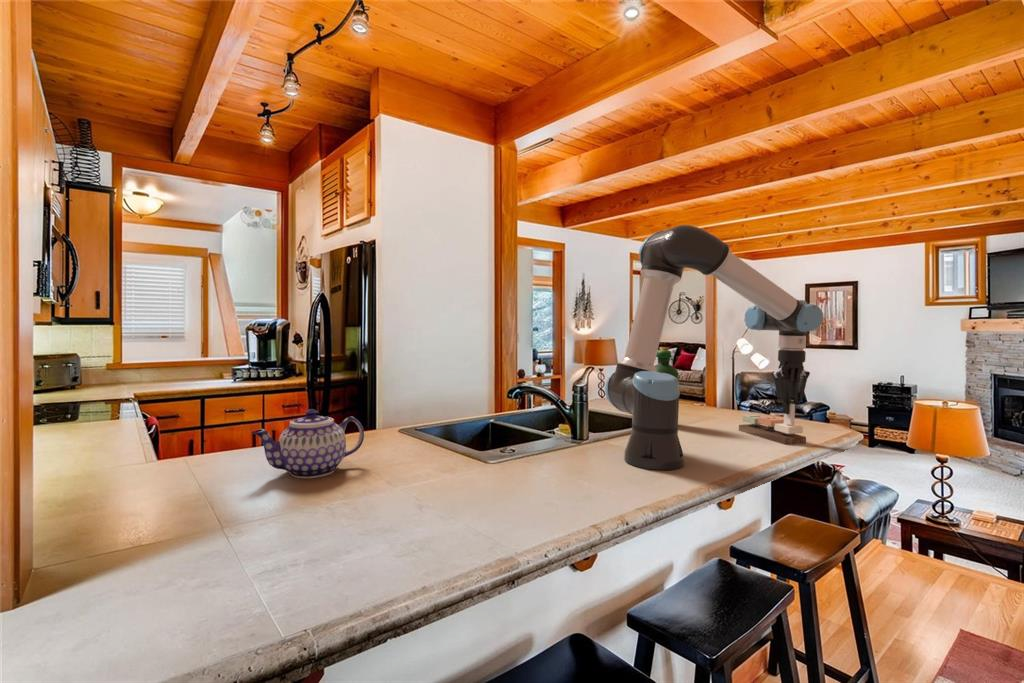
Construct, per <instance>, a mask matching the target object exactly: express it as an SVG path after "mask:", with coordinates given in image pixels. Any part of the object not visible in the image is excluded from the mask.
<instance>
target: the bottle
mask: <svg viewBox="0 0 1024 683" xmlns="http://www.w3.org/2000/svg"><path fill="white" fill-rule="evenodd" d="M656 358H657V364H654V367H655V369H656V370H657V372H660V373H666V374H670V375H672V376H674V377H676V378H677V380H678V381H679V374H680V373H679V371H678V370H677V368H676V367H674V366H673V365H671V364H670V361H671V358H672V351H670V350H669V346H668V347H667V346H660V347H659V350H657V354H656Z"/></svg>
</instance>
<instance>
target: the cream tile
mask: <svg viewBox="0 0 1024 683" xmlns="http://www.w3.org/2000/svg"><path fill="white" fill-rule="evenodd" d="M774 428H775V429H774V430H776V431H780V432H783V433H785V436H788V437H791V435H792V434H803V431H804V429H803V428H804V426H802V425H797V424H794V425H788V424H784V423H780V424H775V426H774Z"/></svg>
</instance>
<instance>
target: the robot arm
mask: <svg viewBox="0 0 1024 683" xmlns="http://www.w3.org/2000/svg"><path fill="white" fill-rule="evenodd" d="M638 260H639V262H640V265H641V268H640V274H641V276H642V278H643V282H642V287H641V290H640V293H639V299H638V302H637V305H636V309H635V314H634V317H633V322H632V326H631V329H630V334H629V337H628V342H627V345H626V346H627V347H626V350H625V353H624V357H623V358H622V359H620V360H619V361H617V362H616V363H617V364H616V367H615V371H614V372H613V373H611V374H610V375H609V376H608V378H607V379H606V382H605V386H604V391H605V392H604V394H605V397H606V399H607V400H608V402H609V404H610V405H611V406H613V407H614V408H615V409H617V410H618V411H620V412H623V413H627V414H629V415H631V416H632V417H631V418H632V420H631V433H630V436H629V438H628V441H627V444H626V447H625V449H624V456H623V457H624V461H625V462H626V463H627V464H629V465H631V466H634V467H638V468H642V469H648V470H657V471H670V470H671V471H672V470H679V469H680V468H683V467H684V466H685V454H684V452H683V448H682V446H681V442H680V438H679V407H680V406H679V405H680V403H679V402H680V394H681V392H680V391H681V390H680V382H679V379H678V380H677V378H676V377H674V376H672V375H670V374H666V373H660V372H657V370H656V369H655V367H654V366H655V362H656V359H657V357H656V355H657V351H659V345H660V342H661V337H662V333H663V330H664V326H665V322H666V319H667V318H666V317H667V314H668V310H669V305H670V302H671V299H672V294H673V290H674V286H675V285H676V284H678V283H680V282H681V280H682V277H683V273H684V269H692V270H695V271H698V272H700V273H701V274H702V275H703V276H712V277H714V278H716V279H717V280H718V281H719V282H721V283H722V284H724V285H725V286H727V287H728V288H730V289H731V290H733V291H735V292H736V293H737V294H739V295H740V296H742V297H743V298H744V299H746V300H747V301H749V302H750V303H752V304H754V305H750V306H749V307H748V308H747V309H746V310H745V312H744V318H743V319H744V325H745V326H746V327H747V328H748V329H750V330H752V331H776V332H777V331H778V344H777V345H778V346H777V347H778V348H779V349H778V350H777V351H778V352H777V361H778V362H779V365H778V368H777V369H776V371H775V370H773V371H771V375H772V377H773V379H774V380H773V381H774V386H775V393H776V400H777V401H778V402H780V403H782V414H783V419H784V424H788V425H795V418H796V417H795V416H796V415H795V414H796V413H797V405H799V404H800V403H801V402H802V401H803V398H804V396H805V395H804V394H805V391H806V390H805V389H806V386H807V381H808V378H809V377H810V375H811V372H810V371H806V370H805V369H804V368H805V367H804V363H805V362H806V351H805V349H806V348H807V347H806V346H807V342H806V341H807V332H814V331H817V330H818V329H820V327H821V325H822V323H823V321H824V313H823V310H822V309H821V307H820V306H818V305H816V304H810V303H808V302H807V301H806V300H804V299H797V298H795V297H794V296H793V295H792V294H790V293H788V292H787V291H785V290H784V289H783V288H782V287H780V286H778V285H777V284H776V283H774V282H773V281H772V280H770V279H769V278H768V277H766V276H765V275H763V274H762V273H760V272H759V271H758V270H756V269H755V268H753V267H752V266H751V265H749V264H748V263H746V262H745V261H743V260H742V259H741V258H739V257H738V256H737V255H735V254H734V253H733V252H731V248H730V245H728V244H727V243H726V242H724V241H723V240H721V239H720V238H719V237H717V236H715V235H714V234H712V233H710V232H709V231H706V230H704V229H703V228H700V227H698V226H694V225H690V224H681V225H676V226H674V227H672V228H669V229H666V230H661V231H656V232H654V233H652V234H650V235H649V236H648V237H646V238H645V239H644V241H643V242H641V245H640V247H639V251H638Z"/></svg>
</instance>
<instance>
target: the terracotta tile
mask: <svg viewBox="0 0 1024 683" xmlns="http://www.w3.org/2000/svg"><path fill="white" fill-rule="evenodd" d="M758 423H759V424H760V425H764V426H768V431H770V432H774V428H775V424H780V423H784V418H780V417H775V416H762V417H758Z"/></svg>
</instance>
